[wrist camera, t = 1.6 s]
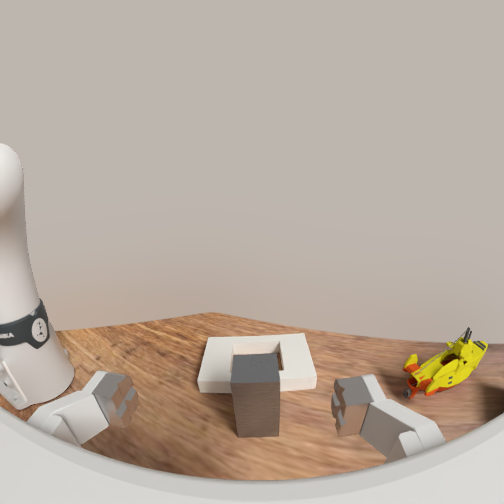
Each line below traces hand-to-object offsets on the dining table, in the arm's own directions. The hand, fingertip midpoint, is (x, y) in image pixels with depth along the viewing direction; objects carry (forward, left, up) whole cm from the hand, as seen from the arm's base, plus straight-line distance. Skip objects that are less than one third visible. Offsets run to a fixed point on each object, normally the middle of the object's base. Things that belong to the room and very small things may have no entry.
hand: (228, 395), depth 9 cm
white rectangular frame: (+1, +28, -21) cm, 35 cm away
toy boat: (+30, +17, -22) cm, 41 cm away
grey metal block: (+1, +16, -21) cm, 27 cm away
